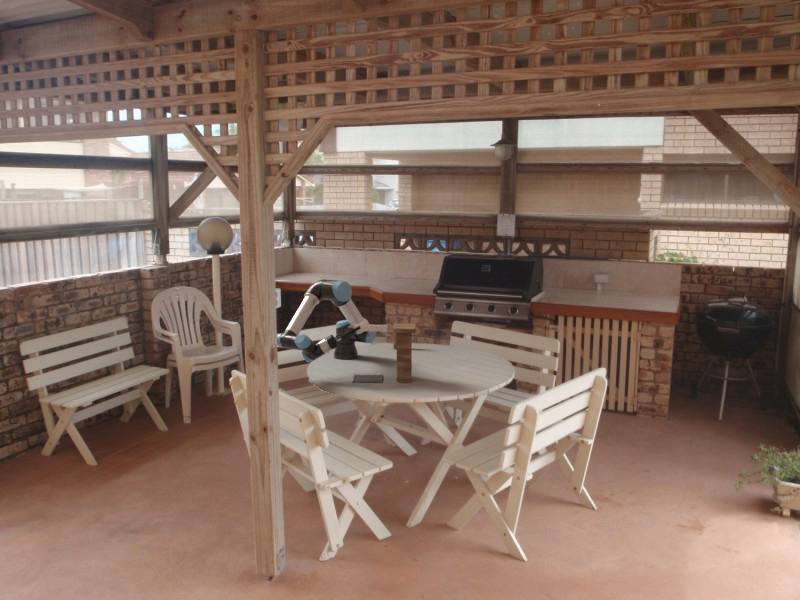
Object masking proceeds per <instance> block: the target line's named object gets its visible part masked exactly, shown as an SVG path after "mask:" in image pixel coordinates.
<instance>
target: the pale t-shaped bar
mask: <svg viewBox="0 0 800 600" xmlns="http://www.w3.org/2000/svg"><path fill="white" fill-rule="evenodd" d="M356 326H358V325H353V326H352V329H353V328H354V327H356ZM388 327H389V325H388V324H386V323H385V324H373V325H367V326H366V327H364V328H363V329H361V330H359V331H377V332H383V333H388V330H389V328H388Z"/></svg>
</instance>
